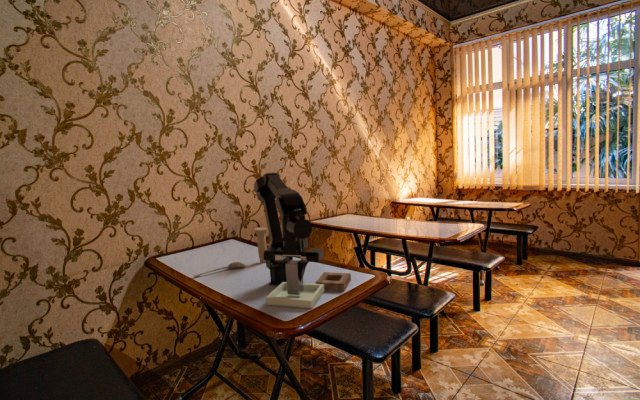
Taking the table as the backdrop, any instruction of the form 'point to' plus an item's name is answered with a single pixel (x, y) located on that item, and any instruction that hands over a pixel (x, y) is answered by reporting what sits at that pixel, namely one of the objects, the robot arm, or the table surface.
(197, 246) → the table surface
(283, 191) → the robot arm
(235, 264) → the soupspoon
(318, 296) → the tray
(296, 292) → the grey rectangular block
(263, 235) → the handle
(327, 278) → the holder
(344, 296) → the table surface
